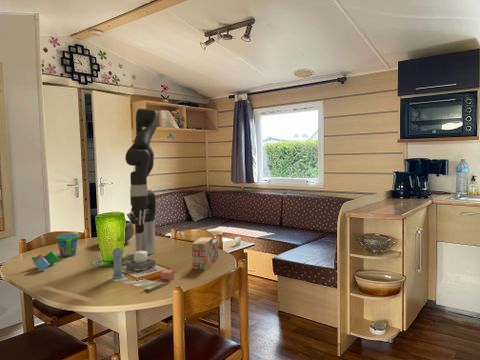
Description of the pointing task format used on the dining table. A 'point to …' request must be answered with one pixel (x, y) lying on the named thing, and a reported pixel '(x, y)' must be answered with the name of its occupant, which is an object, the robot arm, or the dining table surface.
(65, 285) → the dining table surface
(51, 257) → the building blocks
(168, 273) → the die
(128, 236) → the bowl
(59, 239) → the snack cup
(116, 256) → the pawn
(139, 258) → the white rounded block
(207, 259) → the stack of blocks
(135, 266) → the popper housing
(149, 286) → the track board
